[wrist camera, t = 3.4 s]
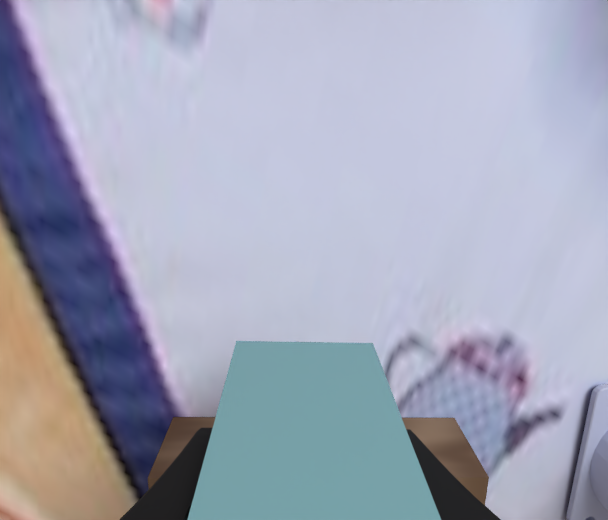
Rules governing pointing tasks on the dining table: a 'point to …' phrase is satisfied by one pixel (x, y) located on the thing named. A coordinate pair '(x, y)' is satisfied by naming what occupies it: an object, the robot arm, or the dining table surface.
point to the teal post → (309, 440)
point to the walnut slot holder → (431, 431)
